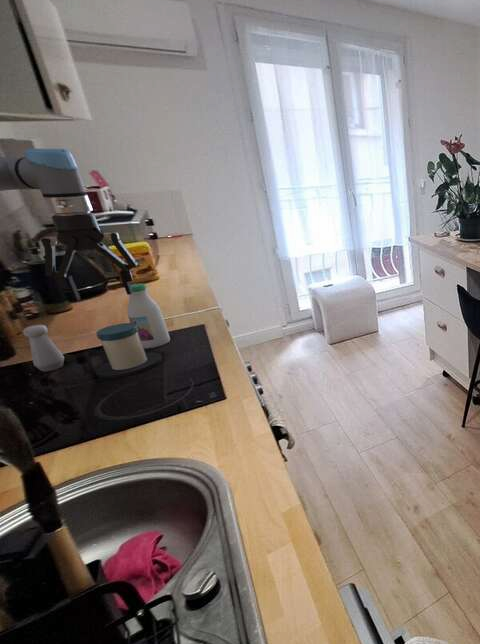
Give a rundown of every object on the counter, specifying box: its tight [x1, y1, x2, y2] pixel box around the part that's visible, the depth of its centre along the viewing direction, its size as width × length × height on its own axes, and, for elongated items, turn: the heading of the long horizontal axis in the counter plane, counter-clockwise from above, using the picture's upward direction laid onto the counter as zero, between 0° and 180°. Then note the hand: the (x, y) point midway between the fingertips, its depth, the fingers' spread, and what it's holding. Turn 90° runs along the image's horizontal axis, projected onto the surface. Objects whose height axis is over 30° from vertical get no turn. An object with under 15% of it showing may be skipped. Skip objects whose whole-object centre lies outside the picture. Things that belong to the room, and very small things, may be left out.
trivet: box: [94, 351, 163, 380], centre depth 118 cm, size 14×14×1 cm
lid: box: [96, 322, 138, 341], centre depth 114 cm, size 8×8×2 cm
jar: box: [100, 332, 147, 370], centre depth 116 cm, size 8×8×10 cm
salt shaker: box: [22, 324, 65, 372], centre depth 115 cm, size 6×6×13 cm
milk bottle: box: [126, 283, 171, 349], centre depth 129 cm, size 8×8×20 cm
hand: (104, 296), depth 111 cm, fingers open, 10 cm apart
